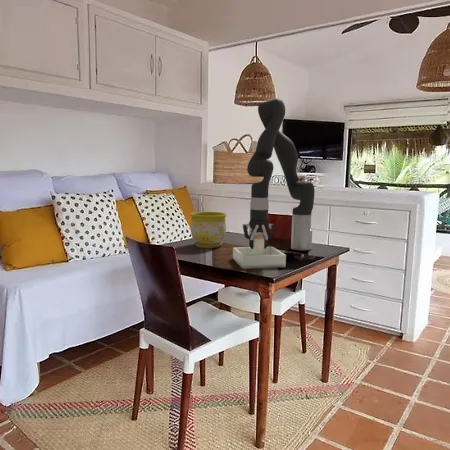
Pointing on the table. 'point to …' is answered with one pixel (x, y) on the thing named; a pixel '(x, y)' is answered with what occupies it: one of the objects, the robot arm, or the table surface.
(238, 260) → the bin
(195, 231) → the flowerpot
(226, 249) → the table surface
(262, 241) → the dressing jar
